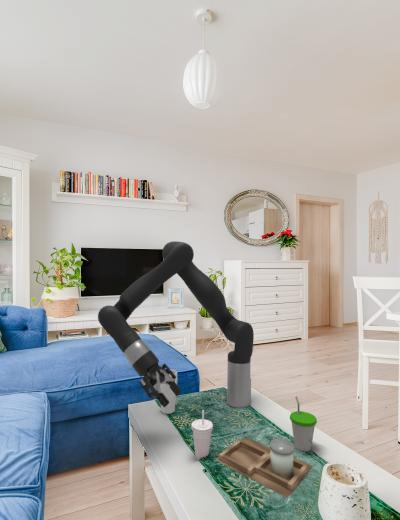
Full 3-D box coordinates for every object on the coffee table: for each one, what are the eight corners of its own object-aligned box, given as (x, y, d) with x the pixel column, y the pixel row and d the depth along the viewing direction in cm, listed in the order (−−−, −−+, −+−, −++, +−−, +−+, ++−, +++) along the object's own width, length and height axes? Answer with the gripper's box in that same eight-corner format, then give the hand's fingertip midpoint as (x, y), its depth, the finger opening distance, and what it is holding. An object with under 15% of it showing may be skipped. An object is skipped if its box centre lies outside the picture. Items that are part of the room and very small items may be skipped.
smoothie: (195, 466, 91) (196, 416, 91) (187, 453, 97) (188, 406, 97) (216, 460, 94) (216, 412, 94) (207, 448, 100) (207, 403, 100)
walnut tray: (245, 440, 104) (245, 432, 104) (313, 470, 90) (313, 460, 90) (215, 464, 92) (215, 454, 92) (287, 502, 78) (287, 491, 78)
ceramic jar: (276, 461, 92) (276, 435, 92) (298, 470, 88) (298, 444, 88) (265, 472, 87) (265, 445, 87) (287, 483, 83) (287, 455, 83)
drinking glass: (174, 416, 120) (174, 375, 120) (156, 414, 121) (157, 374, 121) (178, 408, 126) (179, 369, 126) (162, 406, 128) (162, 368, 128)
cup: (316, 460, 94) (317, 409, 94) (289, 455, 97) (289, 405, 97) (315, 446, 102) (316, 398, 102) (289, 441, 104) (290, 395, 104)
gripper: (136, 356, 95) (171, 401, 91) (159, 344, 109) (190, 383, 105) (120, 371, 97) (154, 417, 93) (145, 358, 111) (175, 397, 107)
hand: (173, 399), depth 99 cm, fingers open, 8 cm apart
